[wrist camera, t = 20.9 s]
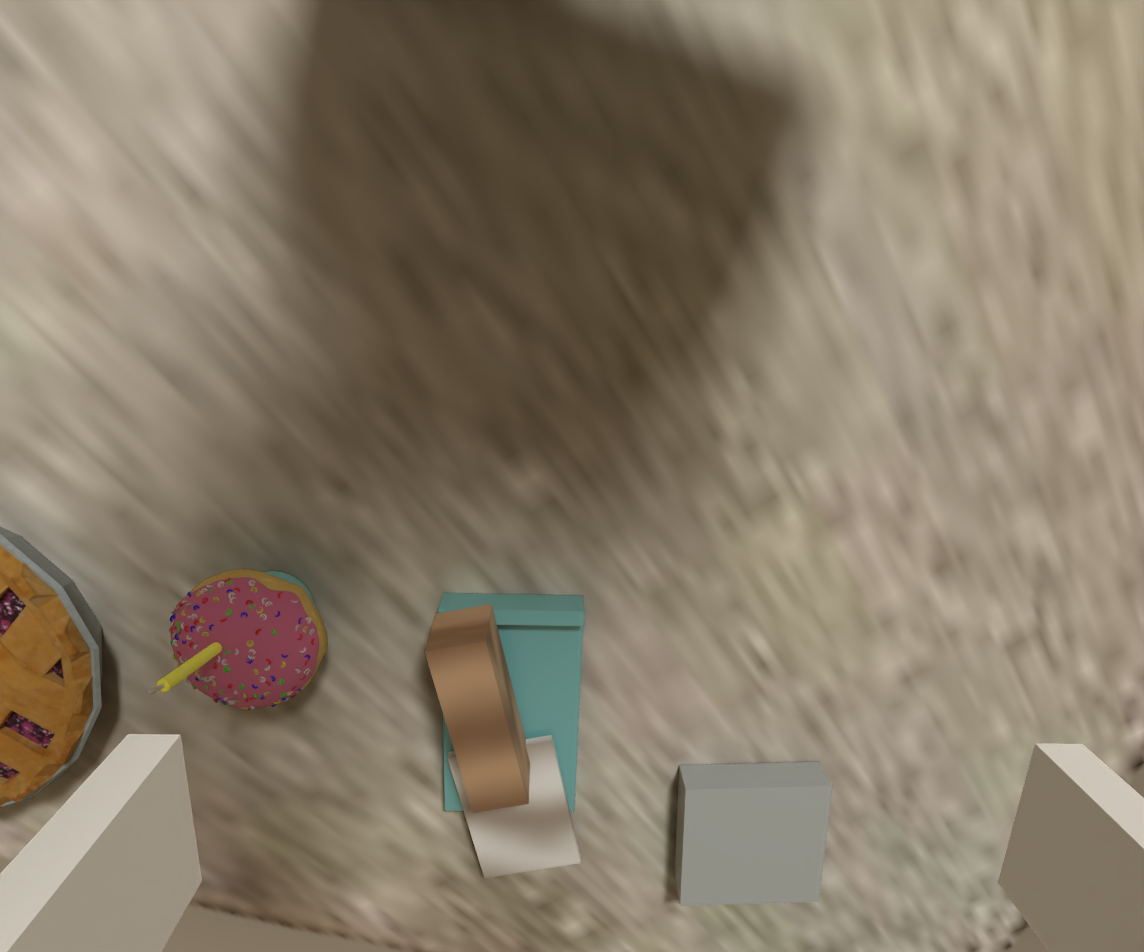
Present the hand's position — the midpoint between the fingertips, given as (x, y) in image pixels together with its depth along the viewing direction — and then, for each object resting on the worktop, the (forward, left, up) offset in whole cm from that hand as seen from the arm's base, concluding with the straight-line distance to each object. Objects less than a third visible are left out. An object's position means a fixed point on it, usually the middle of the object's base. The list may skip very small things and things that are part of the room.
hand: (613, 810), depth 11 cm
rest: (+20, -3, -32) cm, 38 cm away
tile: (+25, +14, -30) cm, 42 cm away
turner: (+22, -4, -30) cm, 38 cm away
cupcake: (+13, -18, -32) cm, 39 cm away
